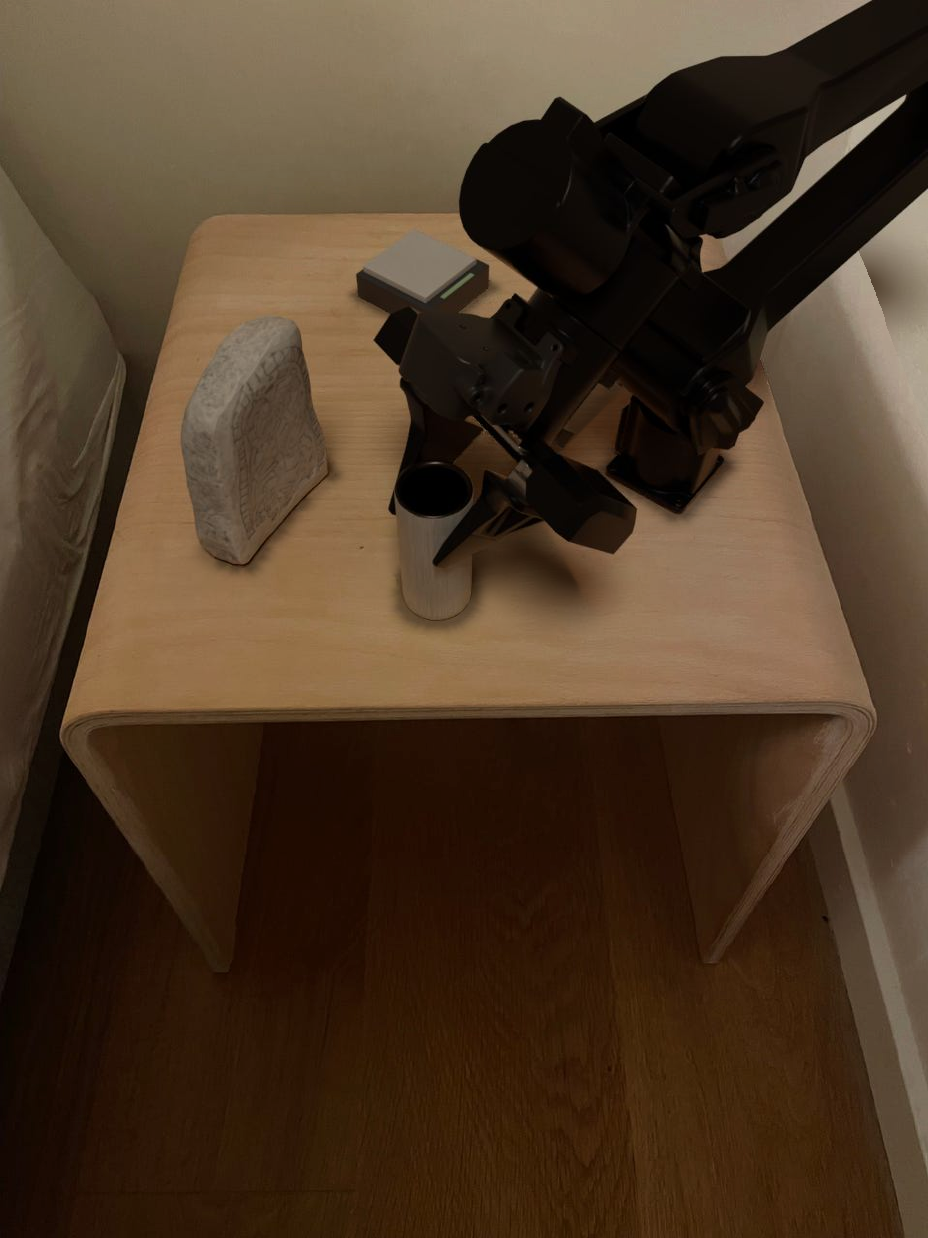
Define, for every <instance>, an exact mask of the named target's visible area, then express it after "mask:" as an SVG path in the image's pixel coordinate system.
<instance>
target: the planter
mask: <svg viewBox="0 0 928 1238" xmlns="http://www.w3.org/2000/svg"><path fill="white" fill-rule="evenodd" d="M396 479H397V480H395V483H394V486H395V487H394V488H393V490H394V496H395V508H396V516H395V519H396V530H397V531H396V532H397V541H398V554H399V566H400V578H401V590H402V597H403V600H404V603H405V604H406V606H407V608H408V609H409V610H410V611H411V612H412V613H413V614H415V615H417V616H418V617H420V618H423V619H426V620H432V621H443V620H448V619H451V618H453V617H455V616H457V615H458V614H460V613H462V612H463V610H464V609H466V607H467V606H468V604H469V603H470V600H471V595H472V583H473V582H472V577H473V554H472V555H470V556H468V557H466V558H464V559H462V560H461V561H459V562H457V563H455V564H453V565H451V566H449V567H447V568H444V569H442V568H437V567H435V566H434V565H433V564H432V561H433V559H434V557H435V556H436V554H437V552H438V551H439V549H440V547H441V546H442V544H443V543H444V541H445V540H446V539H447V537H448V536H449V535H450V534H451V532H452V531H453V530H454V529H455V527H456V526H457V525H458V524H459V522H460V521H461V520H462V518H463V517H464V516H465V515H466V513H467V512H468V511H469V510H470V508H471V507H472V506H473V505H474V497H475V496H474V495H475V491H474V483H473V480H472V478H471V477H470V475H469V473H468V472H467V471H465V469H463V468H462V467H461V466H459V465H457V464H455V463H451V462H448V461H443V460H426V461H421V462H418V463H415V464H413V465H411V466H409V467H408V468H406V469H405V470H404V471H403V472H402V473H401V474H400V475H399V477H398V478H397V477H396Z"/></svg>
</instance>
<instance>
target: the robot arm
mask: <svg viewBox="0 0 928 1238" xmlns="http://www.w3.org/2000/svg"><path fill="white" fill-rule="evenodd" d="M903 97H905V98H904V100H903V101H902V102H901V103H900V105H899V106H898V107H897V108H896V109H895V110H893V111H892V112H891V113H890V114H889V115H888V116H887V117H886V118H885V119H883V121H881V122H880V123H879V124H878V125H877V126H876V127H875V128H874V129H872V130H871V131H870V133H868V134H867V135H866V136H865V137H863V139H862V140H860V141H859V142H858V143H857V144H856V145H855V146H853V148H852V149H851V150H849V151H848V152H847V153H846V154H845V155H844V156H843V157H842V158H841V159H839V161H838V162H836V163H835V164H834V165H833V166H831V168H830V169H828V170H827V172H825V173H824V174H823V175H822V176H821V177H819V178H818V179H817V181H815V182H814V183H813V184H812V185H811V186H810V187H809V188H808V189H806V191H804V192H803V193H802V194H801V195H800V196H799V197H797V198H796V199H795V200H794V201H793V202H792V203H791V204H790V205H789V206H788V207H787V208H786V209H784V210H783V211H782V212H781V213H780V214H779V215H777V217H775V218H774V220H772V221H771V222H770V223H769V224H768V225H767V226H766V227H764V228H763V229H762V230H761V231H760V232H759V233H758V234H757V235H755V237H753V238H752V239H751V240H750V241H749V242H748V243H747V244H746V245H745V246H743V247H742V248H741V249H740V250H739V251H738V252H736V254H735V255H734V256H732V257H731V258H730V259H729V260H728V261H727V262H725V263H724V264H723V265H722V266H721V267H718V268H713V269H710V270H705V271H703V268H702V263H701V262H702V261H701V253H702V247H703V244H704V239H703V237H702V236H705V235H707V236H709V237H712V238H714V239H716V240H721V239H726V238H728V237H730V236H733V235H735V234H736V233H740V232H741V231H743V230H744V229H745V228H747V227H749V226H750V225H751V224H753V223H754V222H756V221H757V220H759V219H761V217H763V215H764V214H765V213H767V212H768V211H769V210H770V209H772V208H773V207H774V206H775V205H777V204H778V203H779V202H781V201H782V200H784V199H785V198H786V197H787V196H788V195H790V193H792V191H793V190H794V187H795V184H796V182H797V180H798V177H799V175H800V172H801V170H802V167H803V165H804V163H805V160H806V158H807V157H809V156H810V155H811V154H813V153H814V152H815V151H816V150H818V149H820V147H822V146H823V145H825V144H826V143H828V142H829V141H831V140H833V139H835V138H836V137H838V136H839V135H841V134H843V133H844V132H846V131H847V130H849V129H851V128H853V127H855V126H856V125H858V124H859V123H861V122H863V121H865V120H866V119H868V118H870V117H871V116H873V115H874V114H876V113H878V112H879V111H881V110H883V109H885V108H886V107H888V106H890V105H892V104H893V103H895V102H896V101H898V100H900V99H901V98H903ZM927 190H928V0H870V1H868V2H866V3H864V4H862V5H860V6H859V7H856V8H855V9H854V10H851V11H850V12H848V13H846V14H845V15H843V16H841V17H840V18H838V19H836V20H834V21H832V22H831V23H829V24H827V25H825V26H823V27H822V28H820V29H817V30H816V31H815V32H813V33H811V34H809V35H807V36H806V37H803V38H802V39H801V40H799V41H797V42H795V43H794V44H793V43H792V45H790V46H787V47H786V48H784V49H782V50H779V51H776V52H773V53H770V54H765V55H722V56H717V57H714V58H711V59H708V60H705V61H702V62H699V63H696V64H694V65H691V66H687V67H684V68H681V69H678V70H676V71H674V72H671V73H670V74H668V75H667V76H665V78H663V79H661V80H660V81H659V82H658V83H656V84H655V85H653V87H652V88H651V89H650V90H649V91H648V92H647V93H646V94H644V95H642V96H641V97H638V98H637V99H635V100H632V101H631V102H629V103H628V104H626V105H624V106H622V107H620V108H618V109H616V110H614V111H613V112H610V113H609V114H607V115H605V116H603V117H601V118H599V119H598V120H596V121H593V120H592V118H591V117H590V116H589V115H588V114H587V113H585V112H583V110H581V109H579V108H578V107H577V106H575V105H573V104H572V103H571V102H569V101H568V100H566V99H565V98H564V97H562V96H557V97H555V98H554V99H553V100H552V101H551V103H550V105H549V106H548V107H547V109H546V110H545V112H544V114H543V115H542V117H541V118H540V119H538V118H537V119H526V120H525V119H524V120H520V121H519V122H515V123H513V124H510V125H509V126H507V127H505V128H504V129H503V130H501V131H499V132H498V133H497V134H496V135H494V137H492V139H491V140H489V141H488V142H483V143H482V144H481V145H480V146H479V148H477V151H476V152H475V153H474V155H473V156H472V158H471V160H470V162H469V164H468V166H467V168H466V170H465V173H464V176H463V178H462V181H461V185H460V189H459V197H458V210H459V211H458V212H459V218H460V221H461V225H462V228H463V230H464V232H465V233H466V235H467V236H468V238H469V239H470V240H471V241H472V242H473V243H474V244H476V245H477V246H478V247H479V248H481V249H483V250H484V251H485V252H487V253H488V254H489V255H491V256H493V257H494V258H495V259H497V260H498V261H500V262H501V263H502V264H503V265H505V266H507V267H508V268H510V270H512V271H514V272H515V273H516V274H518V275H519V276H521V277H522V278H523V279H525V280H527V282H529V283H530V284H532V285H533V286H535V287H536V289H535V291H533V293H532V295H531V296H530V297H529V299H528V300H526V299H525V298H523V297H522V296H521V295H520V294H518V293H516V292H514V293H513V295H511V297H510V298H507V299H506V300H504V301H503V303H502V304H501V305H500V306H499V308H498V309H497V311H496V312H494V314H493V315H491V316H490V317H486V316H480V315H477V314H474V313H468V312H467V313H464V312H457V313H444V312H419V311H417V310H416V309H414V308H412V307H410V306H408V307H406V308H403V309H401V310H399V311H396V312H394V313H389V315H388V317H387V318H386V319H385V321H384V323H383V324H382V326H381V328H379V330H378V332H377V334H376V335H375V337H374V338H373V340H372V341H373V342H374V343H375V344H376V345H377V346H378V347H379V348H380V349H381V350H382V351H383V352H384V353H385V355H387V357H389V359H390V360H391V361H392V362H393V363H394V364H395V365H396V366H398V370H397V371H398V373H399V375H400V379H399V388H400V390H401V391H402V392H403V393H404V396H405V398H406V404H407V407H408V411H409V417H410V422H409V429H408V434H407V440H406V443H405V447H404V452H403V455H402V459H401V462H400V465H399V469H398V472H397V477H396V480H397V478H398V477H399V475H400V474H401V473H402V472H403V471H404V470H405V469H406V468H408V467H409V466H411V465H413V464H415V463H418V462H421V461H426V460H443V461H448V462H451V463H453V464H455V462H456V461H457V460H458V459H459V458H460V457H461V456H462V455H463V454H464V453H465V452H466V451H467V449H468V448H469V447H470V446H471V445H472V444H473V442H474V441H475V440H477V438H478V437H480V435H481V434H482V433H483V432H484V430H485V431H486V432H487V433H488V434H489V435H490V436H491V437H492V438H493V439H494V440H495V441H496V442H497V444H498V445H500V446H501V448H502V449H504V450H505V451H506V452H507V454H508V455H510V456H511V458H512V459H513V460H514V461H515V462H516V463H517V464H516V465H515V467H514V468H513V469H512V470H511V472H509V474H508V476H506V475H504V474H501V473H498V472H496V471H493V470H490V469H488V468H485V469H484V471H483V476H482V483H481V484H482V485H481V492H480V495H479V496H478V497H477V499H476V501H475V502H473V506H472V507H471V508H470V510H469V511H468V512H467V513H466V515H465V516H464V517H463V518H462V520H461V521H460V522H459V524H458V525H457V526H456V527H455V529H454V530H453V531H452V532H451V534H450V535H449V536H448V537H447V539H446V540H445V541H444V543H443V544H442V546H441V547H440V549H439V551H438V552H437V554H436V556H435V557H434V559H433V561H432V564H433V565H434V566H435V567H437V568H442V569H444V568H447V567H449V566H451V565H453V564H455V563H457V562H459V561H461V560H462V559H464V558H466V557H468V556H470V555H472V556H473V555H474V554H476V553H477V552H480V551H481V550H483V549H485V548H488V547H489V546H491V545H493V544H495V543H497V542H498V541H500V540H502V539H504V538H506V537H509V536H510V535H513V534H515V533H517V532H521V531H523V530H525V529H529V528H530V527H534V526H537V525H539V524H540V523H543V522H545V523H546V525H547V526H548V527H549V528H550V529H551V530H552V531H553V532H554V534H556V535H558V536H559V537H560V538H561V539H563V540H565V541H566V542H567V543H570V544H574V545H578V546H581V547H585V548H588V549H592V550H595V551H598V552H599V551H600V552H604V553H605V554H609V555H615V554H616V553H617V552H618V551H619V549H620V548H621V547H622V545H624V544H625V542H626V541H627V540H628V539H629V538H630V537H631V536H632V534H633V533H634V529H635V526H636V521H637V513H638V508H637V507H636V506H635V505H634V504H633V503H632V502H631V501H630V500H629V499H628V498H627V497H626V496H625V495H624V494H623V493H622V492H621V491H620V490H619V489H618V488H617V487H616V486H615V485H614V484H613V483H611V481H609V479H607V477H605V476H604V475H603V474H602V473H601V472H600V471H599V470H598V469H596V468H593V467H591V466H589V465H587V464H585V463H582V462H580V461H578V460H575V459H573V458H570V457H568V456H566V455H563V454H562V453H558V452H556V451H555V449H553V448H552V447H551V445H552V444H553V445H555V446H558V447H560V448H562V449H564V448H565V446H566V445H567V444H568V443H569V442H570V440H571V439H572V438H573V437H574V435H575V434H574V432H573V431H572V430H571V429H570V428H569V427H567V424H568V423H569V422H570V420H571V419H572V418H573V416H574V415H576V412H578V410H579V409H580V408H581V406H582V405H583V404H584V402H586V400H587V399H588V398H589V397H590V395H591V394H592V392H593V391H594V390H595V389H596V387H597V386H598V385H601V386H602V387H604V388H606V389H608V390H609V391H610V390H611V389H612V387H613V386H614V385H615V383H616V384H618V386H620V387H621V388H622V387H623V388H624V389H625V390H626V391H628V392H629V393H630V394H631V396H630V398H629V401H628V402H627V403H626V404H624V406H623V407H622V408H621V411H620V415H619V421H618V425H617V431H616V435H615V441H614V445H613V449H614V451H615V452H616V453H617V454H616V455H615V456H614V457H613V458H612V459H611V461H609V462H608V464H607V465H606V467H605V474H606V476H608V477H610V478H611V479H613V480H615V481H617V482H618V483H621V484H622V485H624V486H626V487H628V488H630V489H631V490H634V491H635V492H637V493H639V494H641V495H643V496H644V497H646V498H647V499H650V500H652V501H653V502H655V503H657V504H659V505H661V506H662V507H665V508H666V509H668V510H670V511H672V512H674V513H676V514H681V513H683V512H684V511H686V509H687V508H688V507H689V506H690V505H691V504H692V502H693V501H694V499H696V498H697V497H698V495H699V494H700V493H701V491H703V489H704V488H705V487H706V486H707V484H708V483H709V482H710V481H711V480H712V479H713V478H714V476H715V475H716V474H717V473H718V472H719V470H721V468H722V467H723V465H724V463H725V458H724V456H723V455H722V454H720V452H721V450H724V451H729V450H731V449H733V448H735V447H736V444H737V441H738V438H739V436H740V434H741V433H743V432H744V431H745V432H746V430H748V429H749V428H750V427H751V426H752V424H753V423H754V422H755V420H756V418H757V416H758V415H759V412H760V411H761V409H762V407H763V406H764V403H765V402H764V400H763V399H762V398H761V397H759V396H758V395H757V394H756V393H754V392H753V391H752V390H750V389H749V387H747V386H748V385H749V384H750V383H751V382H752V380H753V379H754V377H755V375H756V372H757V369H758V365H759V363H760V359H761V356H762V353H763V350H764V347H765V343H766V340H767V337H768V333H769V332H770V331H771V330H772V329H773V328H774V327H775V326H776V325H777V324H778V323H779V322H781V321H782V320H783V319H784V318H786V316H788V315H789V314H790V313H791V312H792V311H793V310H794V309H795V308H796V307H798V305H799V304H801V303H802V302H803V301H804V300H805V299H806V298H807V297H808V296H809V295H811V294H812V293H813V292H814V291H815V290H816V289H818V288H819V287H820V286H821V285H822V284H823V283H824V282H826V280H828V279H829V278H830V277H831V276H832V275H833V274H834V273H835V272H836V271H838V270H839V269H840V268H841V267H842V266H843V265H844V264H845V263H846V262H848V261H849V260H850V259H851V258H852V257H854V255H855V254H857V253H858V252H859V251H860V250H861V249H862V248H863V247H864V246H865V245H867V244H868V243H869V242H870V241H871V240H872V239H874V238H875V237H876V236H877V235H878V234H879V233H880V232H882V230H883V229H885V228H886V227H887V226H888V225H889V224H890V223H891V222H892V221H893V220H895V219H896V218H897V217H898V216H899V215H900V214H901V213H903V212H904V211H905V210H906V209H907V208H908V207H909V206H910V205H911V204H913V203H914V202H915V201H916V200H917V199H918V198H919V197H920V196H922V195H923V194H925V192H926V191H927ZM396 480H395V481H396ZM394 487H395V485H394ZM387 507H388V509H387V510H388V513H390V514H391V515H392V516H395V517H396V508H395V496H394V489H393V490H392V494H391V498H390V500H389V504H388V506H387Z"/></svg>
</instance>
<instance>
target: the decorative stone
mask: <svg viewBox="0 0 928 1238" xmlns="http://www.w3.org/2000/svg"><path fill="white" fill-rule="evenodd" d="M306 361H307V360H306V357H305V353H304V351H303V340H302V333H301V330H300V328H299V326H298V325H297V322H295V321H294V320H293V319H290V318H289V317H282V316H275V315H261V316H256V317H255V318H253V319H250V320H247V321H245V322H243V323H240V324H239V325H237V327H236V328H234V330H232V331H231V332H230V333H229V334H228V335H227V336H225V337H224V338H223V339H222V341H221V342H220V344H219V346H218V348H217V349H216V352H215V353H214V354H213V356H212V358H211V359H210V361H209V363H208V364H207V366H206V367H205V368H204V371H203V372H202V373H201V376H200V378H199V379H198V381H197V383H196V385H195V387H194V388H193V391H192V393H191V395H190V397H189V399H188V401H187V403H186V405H185V407H184V408H185V409H184V413H183V417H182V421H181V426H180V427H181V429H180V449H181V453H182V459H183V465H184V472H185V479H186V480H185V481H186V487H187V490H188V495H189V498H190V502H191V505H192V512H193V518H194V529H195V534H196V536H197V539H198V541H199V544H200V545H201V546H202V547H203V548H204V550H206V551H207V552H208V553H209V554H210V555H211V556H212V557H214V558H217V559H219V560H221V561H226V562H229V563H230V564H234V565H245V564H248V563H249V562H250V560H251V559H252V558H253V556H254V555H255V554H256V553H257V551H258V550H259V549H260V547H261V546H262V544H263V543H264V542H265V541H266V539H267V538H268V537H269V536H271V534H272V533H274V532H275V531H276V530H277V528H278V526H279V525H280V524H282V523H283V521H284V520H285V518H286V517H287V516H288V515H289V513H290V512H291V511H292V510H293V509H294V508H295V507H296V506H297V504H299V502H301V500H302V499H303V498H304V497H305V496H306V495H307V494H308V493H309V492H310V491H311V490H312V489H313V488H314V487H316V486H317V485H318V484H319V483H320V482H321V481H322V480H323V479H324V478H325V477H326V476H327V475H328V472H329V471H328V459H327V451H326V450H327V449H326V440H325V436H324V433H323V428H322V426H321V424H320V422H319V419H318V416H317V413H316V410H315V405H314V401H313V397H312V387H311V386H312V385H311V384H312V383H311V379H310V373H309V369H308V365H307V362H306Z"/></svg>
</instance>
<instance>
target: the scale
mask: <svg viewBox="0 0 928 1238" xmlns="http://www.w3.org/2000/svg"><path fill="white" fill-rule="evenodd" d="M355 279H356V287H357V289H356V290H357V296H358V297H359V298H361V299H363V300H364V301H366V302H368V303H370V304H372V305H374V306H376V307H378V308H379V309H381V310H384V311H386V312H387V313H389V314H391V313H394V312H396V311H399V310H401V309H403V308H406V307H408V306H410V307H412V308H414V309H416V310H417V311H419V312H444V313H459V312H460V311H461V310H462V309H463V308H465V307H466V306H467V305H469V304H470V303H471V302H473V300H475V299H476V298H477V297H478V296H480V295H482V293H483V292H484V291H486V290H487V289H488V288H489V286H490V264H488V263H486V262H484V261H481V259H477V257H475V256H473V255H472V254H469V253H467V252H465V251H463V250H461V249H459V248H456V247H454V246H453V245H451V244H448V243H447V242H444V241H443V240H440V239H438V238H436V237H434V236H431V235H430V234H427V233H425V232H423V231H421V230H419V229H417V228H413V229H412V230H411V231H409V232H407V233H406V234H405V235H404V236H402V237H401V238H400V239H398V240H397V241H395V242H394V243H392V244H391V245H389V246H388V247H386V249H384V250H383V251H382V252H380V253H378V254H377V255H376V256H374V257H373V258H371V259H370V260H369V261H367V262H366V263H364V264H363V265H362V269H361V270H360V271H358V272H356V273H355Z"/></svg>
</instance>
